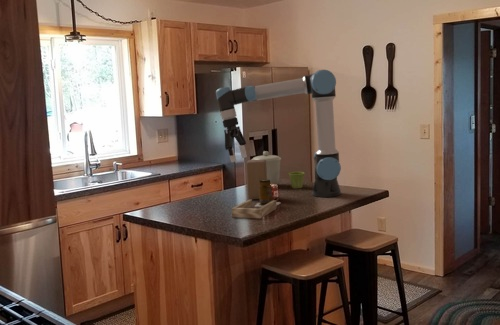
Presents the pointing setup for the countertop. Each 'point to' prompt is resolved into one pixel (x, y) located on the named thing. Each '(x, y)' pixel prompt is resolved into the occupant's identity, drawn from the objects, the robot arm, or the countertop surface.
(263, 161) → the block
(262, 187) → the condiment
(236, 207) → the open wooden frame
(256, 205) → the trivet
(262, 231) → the countertop surface
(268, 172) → the canister
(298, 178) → the plant pot
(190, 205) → the countertop surface
